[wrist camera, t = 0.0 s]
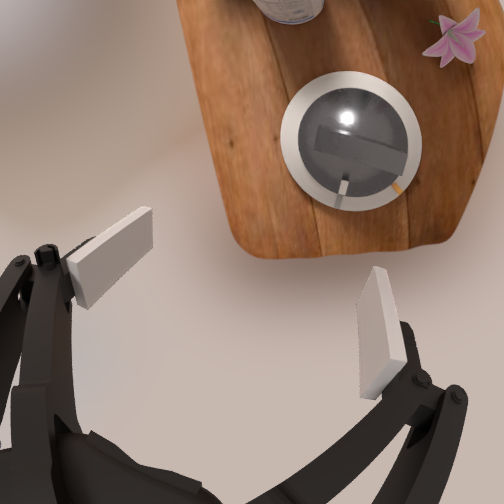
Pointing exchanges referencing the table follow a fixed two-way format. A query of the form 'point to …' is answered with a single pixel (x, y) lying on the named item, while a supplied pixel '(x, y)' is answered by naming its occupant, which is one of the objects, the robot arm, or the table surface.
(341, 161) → the dial
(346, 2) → the table surface
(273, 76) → the table surface
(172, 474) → the robot arm
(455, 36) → the lily
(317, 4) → the supplement tub
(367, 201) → the dial base
